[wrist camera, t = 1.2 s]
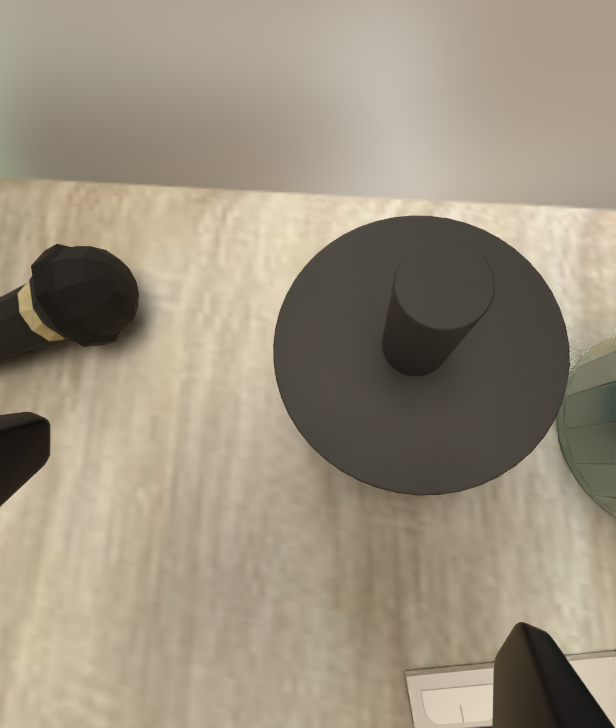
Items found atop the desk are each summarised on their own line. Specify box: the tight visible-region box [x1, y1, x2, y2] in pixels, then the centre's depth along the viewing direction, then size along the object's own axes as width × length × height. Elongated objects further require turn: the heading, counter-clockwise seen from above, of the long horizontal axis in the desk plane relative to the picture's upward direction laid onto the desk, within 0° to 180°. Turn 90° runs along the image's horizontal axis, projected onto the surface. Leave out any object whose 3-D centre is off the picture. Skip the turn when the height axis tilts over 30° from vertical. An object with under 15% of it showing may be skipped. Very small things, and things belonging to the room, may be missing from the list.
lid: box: [273, 216, 570, 495], centre depth 14 cm, size 12×12×6 cm
